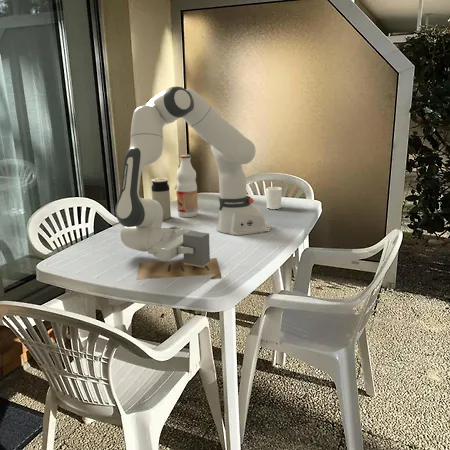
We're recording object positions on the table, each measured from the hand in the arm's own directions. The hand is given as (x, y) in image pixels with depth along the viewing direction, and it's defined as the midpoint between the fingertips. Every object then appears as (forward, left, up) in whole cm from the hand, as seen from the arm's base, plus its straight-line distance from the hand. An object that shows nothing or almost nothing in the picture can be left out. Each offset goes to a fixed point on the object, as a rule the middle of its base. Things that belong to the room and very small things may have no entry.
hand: (198, 247), depth 147 cm
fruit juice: (+1, -71, -8) cm, 71 cm away
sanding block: (+1, -1, -5) cm, 6 cm away
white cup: (-41, -75, -8) cm, 86 cm away
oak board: (+7, -1, -8) cm, 11 cm away
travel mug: (+13, -67, -8) cm, 69 cm away
